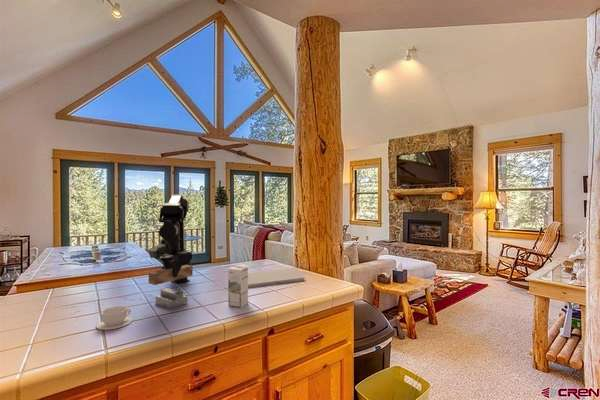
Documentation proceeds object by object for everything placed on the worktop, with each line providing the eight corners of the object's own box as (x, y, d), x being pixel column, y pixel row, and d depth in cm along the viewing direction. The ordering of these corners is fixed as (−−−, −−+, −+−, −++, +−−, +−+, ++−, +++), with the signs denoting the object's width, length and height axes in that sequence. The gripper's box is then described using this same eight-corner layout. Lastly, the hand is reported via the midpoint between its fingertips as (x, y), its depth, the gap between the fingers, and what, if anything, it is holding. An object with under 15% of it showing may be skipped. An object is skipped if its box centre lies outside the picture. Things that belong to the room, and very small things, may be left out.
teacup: (105, 334, 91) (105, 318, 91) (90, 326, 96) (90, 312, 96) (138, 322, 99) (138, 308, 99) (122, 316, 105) (122, 302, 105)
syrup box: (248, 302, 117) (248, 266, 117) (240, 308, 112) (240, 269, 112) (235, 301, 119) (235, 265, 119) (227, 306, 114) (227, 268, 114)
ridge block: (155, 304, 116) (155, 291, 116) (172, 298, 122) (172, 286, 122) (170, 309, 110) (170, 295, 110) (187, 303, 116) (187, 290, 116)
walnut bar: (186, 274, 124) (186, 264, 124) (192, 275, 122) (192, 265, 122) (148, 283, 111) (148, 272, 111) (154, 285, 108) (154, 274, 108)
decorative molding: (303, 286, 150) (295, 276, 159) (304, 277, 149) (296, 268, 158) (235, 295, 136) (231, 283, 145) (236, 285, 135) (232, 274, 144)
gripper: (137, 236, 114) (138, 277, 115) (166, 240, 104) (166, 285, 104) (165, 233, 124) (165, 271, 124) (193, 237, 113) (193, 278, 113)
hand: (171, 276), depth 116 cm, fingers closed on walnut bar, 4 cm apart
